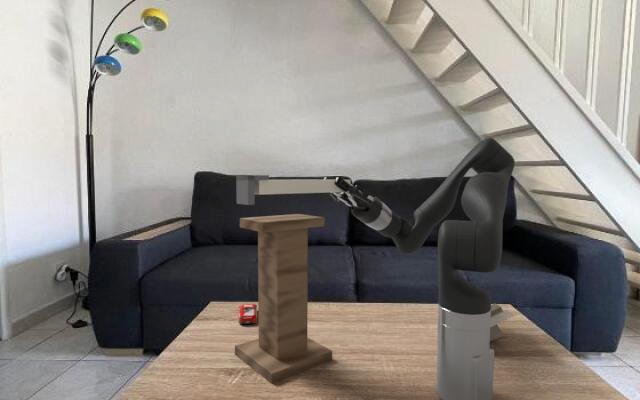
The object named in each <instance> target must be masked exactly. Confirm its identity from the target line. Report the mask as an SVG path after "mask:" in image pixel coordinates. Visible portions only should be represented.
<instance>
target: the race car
mask: <svg viewBox="0 0 640 400" xmlns="http://www.w3.org/2000/svg"><path fill="white" fill-rule="evenodd" d="M238 308H239V315H238V323H239V324H240V325H249V324H257V323H258V305H257V304H255V303H244V304H240V305H239V306H238Z"/></svg>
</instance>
